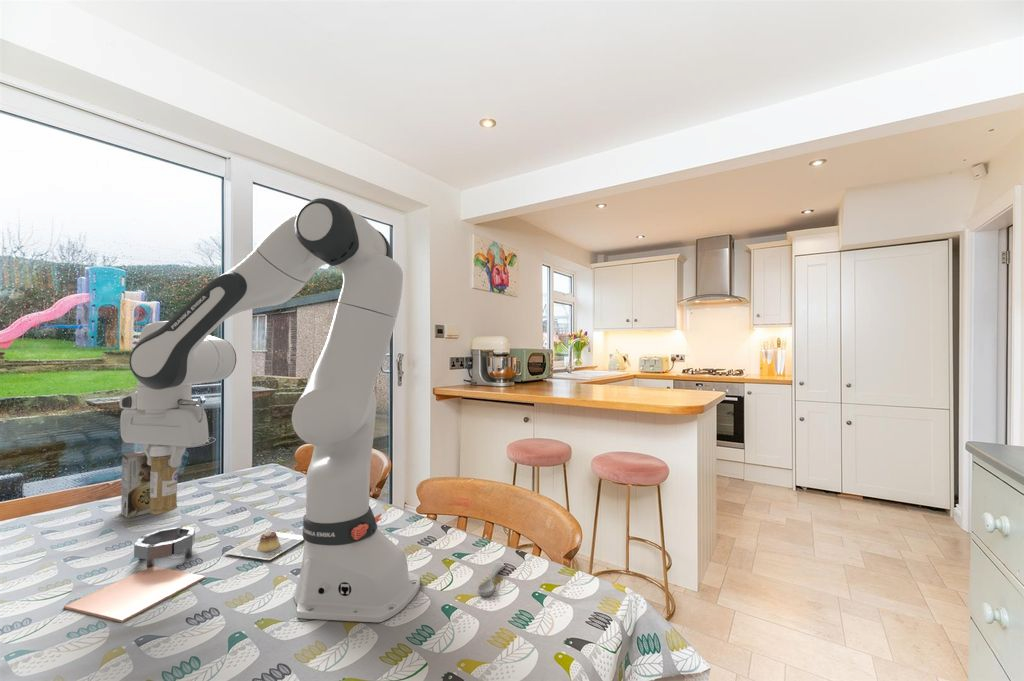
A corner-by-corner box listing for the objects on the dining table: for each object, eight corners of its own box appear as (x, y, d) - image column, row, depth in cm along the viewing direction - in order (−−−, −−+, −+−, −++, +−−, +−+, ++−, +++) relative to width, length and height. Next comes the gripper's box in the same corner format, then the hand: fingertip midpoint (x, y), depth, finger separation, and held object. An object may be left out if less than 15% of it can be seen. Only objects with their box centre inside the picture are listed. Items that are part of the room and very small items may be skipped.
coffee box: (162, 503, 122) (163, 447, 122) (169, 508, 118) (171, 450, 119) (119, 513, 115) (121, 453, 115) (126, 518, 111) (128, 457, 111)
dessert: (267, 535, 103) (267, 515, 103) (309, 540, 100) (310, 520, 100) (223, 558, 91) (223, 536, 91) (269, 565, 88) (270, 542, 89)
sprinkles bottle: (175, 511, 86) (177, 445, 87) (146, 516, 84) (148, 448, 85) (178, 505, 90) (179, 441, 91) (151, 509, 88) (152, 444, 88)
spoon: (475, 598, 76) (475, 587, 77) (493, 570, 88) (493, 560, 88) (490, 601, 76) (491, 589, 76) (507, 572, 87) (507, 562, 87)
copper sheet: (205, 578, 82) (205, 576, 82) (122, 622, 69) (122, 620, 69) (152, 567, 86) (152, 565, 86) (63, 608, 72) (63, 605, 72)
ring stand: (204, 550, 94) (204, 529, 94) (158, 571, 84) (158, 549, 85) (172, 544, 96) (172, 524, 96) (123, 565, 87) (124, 543, 87)
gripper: (217, 398, 88) (217, 464, 88) (146, 396, 94) (146, 459, 93) (186, 401, 82) (186, 473, 82) (113, 399, 88) (112, 466, 87)
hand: (164, 465), depth 88 cm, fingers closed on sprinkles bottle, 4 cm apart
